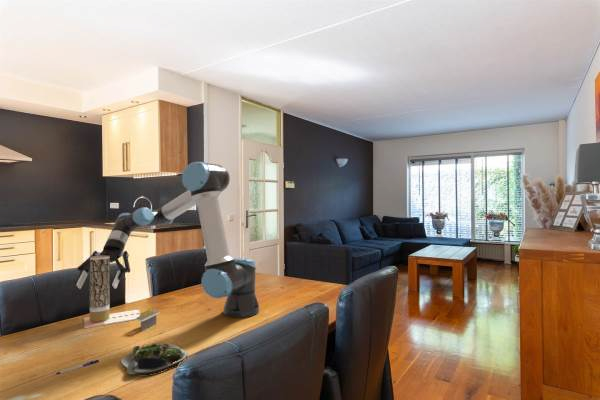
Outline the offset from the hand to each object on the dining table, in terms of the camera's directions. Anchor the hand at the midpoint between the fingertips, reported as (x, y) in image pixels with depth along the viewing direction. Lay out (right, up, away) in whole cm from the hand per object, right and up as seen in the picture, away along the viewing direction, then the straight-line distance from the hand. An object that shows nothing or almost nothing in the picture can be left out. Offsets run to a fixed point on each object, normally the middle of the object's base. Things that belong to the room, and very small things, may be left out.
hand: (96, 286), depth 132 cm
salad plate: (+36, -15, -31) cm, 50 cm away
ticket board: (+4, -14, +5) cm, 16 cm away
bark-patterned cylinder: (0, -14, +2) cm, 14 cm away
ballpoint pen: (+16, -15, -35) cm, 41 cm away
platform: (+22, -15, -4) cm, 27 cm away
